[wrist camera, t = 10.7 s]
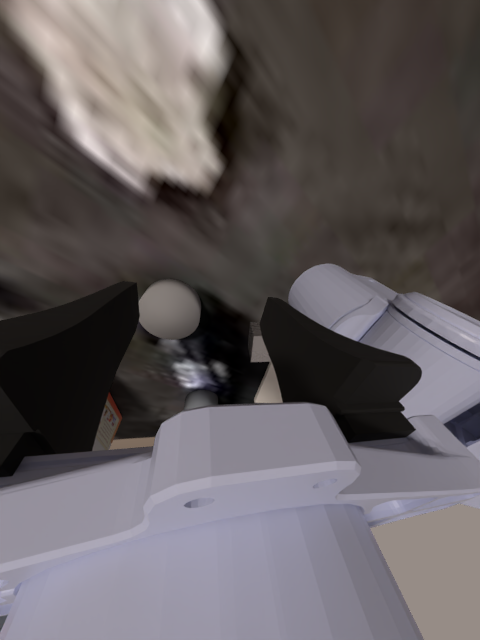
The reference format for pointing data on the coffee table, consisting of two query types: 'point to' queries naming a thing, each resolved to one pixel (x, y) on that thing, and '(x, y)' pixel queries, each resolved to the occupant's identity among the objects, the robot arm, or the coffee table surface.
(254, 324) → the metal tin
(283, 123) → the coffee table surface
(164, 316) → the matte grey ellipsoid
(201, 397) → the grey rounded capsule
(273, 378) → the ceramic tile
